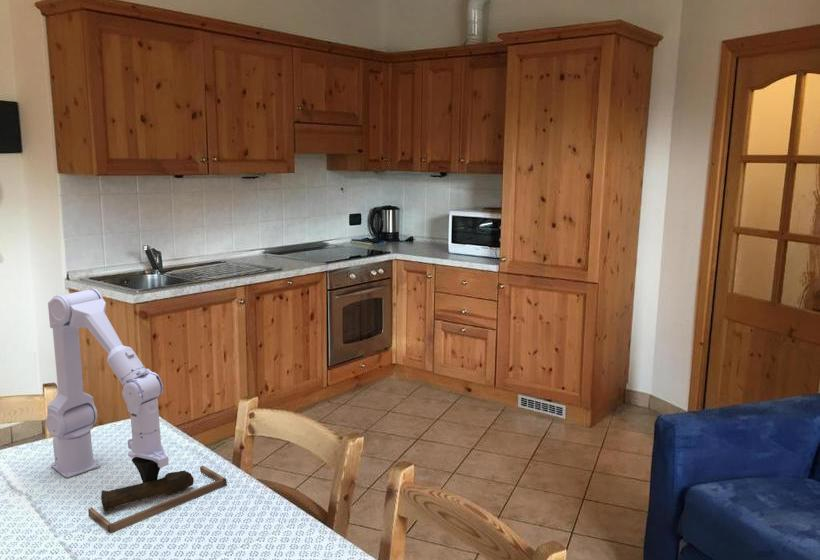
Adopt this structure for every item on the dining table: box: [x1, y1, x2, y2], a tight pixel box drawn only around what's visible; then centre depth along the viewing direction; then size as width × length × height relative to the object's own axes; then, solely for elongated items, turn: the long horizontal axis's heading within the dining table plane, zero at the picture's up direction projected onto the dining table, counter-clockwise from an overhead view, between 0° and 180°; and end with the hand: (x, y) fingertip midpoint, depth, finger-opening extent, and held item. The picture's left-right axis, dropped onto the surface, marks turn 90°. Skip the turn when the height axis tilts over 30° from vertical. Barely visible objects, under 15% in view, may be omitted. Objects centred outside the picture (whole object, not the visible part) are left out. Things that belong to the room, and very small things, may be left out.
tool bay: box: [88, 465, 228, 534], centre depth 147 cm, size 10×27×2 cm, turn 138°
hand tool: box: [100, 470, 195, 512], centre depth 147 cm, size 19×4×5 cm, turn 120°
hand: (150, 487), depth 150 cm, fingers closed
